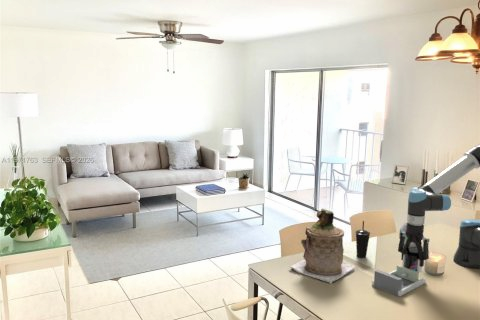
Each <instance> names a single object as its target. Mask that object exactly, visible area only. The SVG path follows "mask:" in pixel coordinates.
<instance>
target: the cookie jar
mask: <svg viewBox="0 0 480 320" xmlns="http://www.w3.org/2000/svg"><path fill="white" fill-rule="evenodd" d="M334 215H335V214H334V212H333V211H330V210H328V209H326V208H321V210H318V211H317V212H316V217H317V218H318V220H317V221H316V222H315V223H313V224H312V225H310V226H307V227H306V228H305V235H306V238H305V239H301V240H300V241H301V242H300V243H301V245H302V247H303V249H304V253H303V259H302V260H300V261H298V262H296V263H295V264H291V265H290V266H289V268H290V269H293V270H294V271H295V272H297V273H299V274H302V275H305V276H308V277H311V278H314V279H316V280H321V281H323V282H325V283H329V284H331V285H332V284H333V282H335V281H337V280H339V279H341V278H342V277H344V276H345V275H347V274H349V273H351V272H353V271H355V268H356V266H355V265H352V264H349V263H343V262H344V252H345V251H344V246H343V244H344V241H343V239H344V238H343V237H344V236H345V231H344V230H343V229H341V228H339V227H337V226H334Z"/></svg>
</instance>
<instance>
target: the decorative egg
mask: <svg viewBox="0 0 480 320" xmlns="http://www.w3.org/2000/svg"><path fill="white" fill-rule="evenodd" d="M407 223H408V222H407V220H406V221H405V222H403V224H402V225H401V227H400V229H399V232H398V237H399V239H400V233H401V232H406V231H407V230H406V226H407ZM406 241H407V236H405V241H404V246H405V244H406ZM409 248H417V246H416V245H415V243H413V242H411V244H410V246H409Z"/></svg>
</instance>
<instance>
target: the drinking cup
mask: <svg viewBox="0 0 480 320" xmlns="http://www.w3.org/2000/svg"><path fill="white" fill-rule="evenodd" d="M364 228H365V221H364V220H362V228H361V229H357V230H356V231H355V239H356V240H355V244H356V245H355V247H356V257H357V258H360V259H365V258H367V253H368V247H369V241H370V235H371V232H370V231H368V230H366V229H364Z"/></svg>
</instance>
